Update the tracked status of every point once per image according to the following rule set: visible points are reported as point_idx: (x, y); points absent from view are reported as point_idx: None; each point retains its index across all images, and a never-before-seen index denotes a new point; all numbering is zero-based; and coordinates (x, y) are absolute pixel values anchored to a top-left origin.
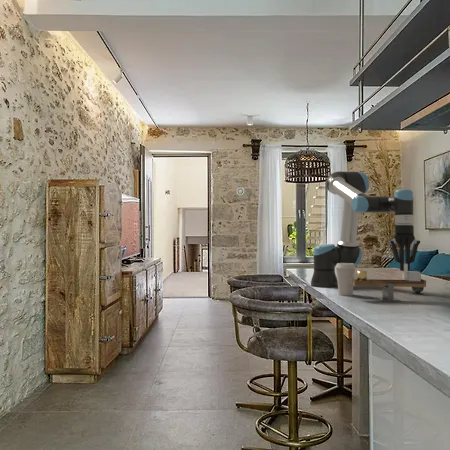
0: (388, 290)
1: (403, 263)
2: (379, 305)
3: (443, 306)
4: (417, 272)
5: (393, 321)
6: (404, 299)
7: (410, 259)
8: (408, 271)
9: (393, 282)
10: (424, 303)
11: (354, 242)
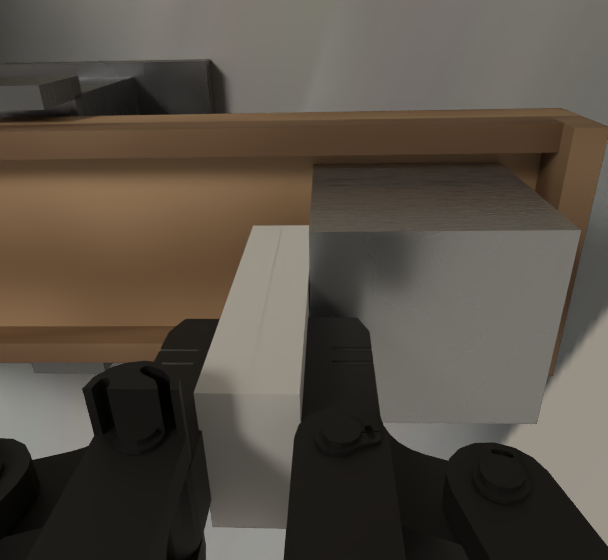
0: None
1: (202, 507)
2: (38, 418)
3: (493, 437)
4: (477, 420)
5: None
6: (314, 102)
7: (466, 551)
8: (359, 310)
9: (103, 353)
10: None
11: None
